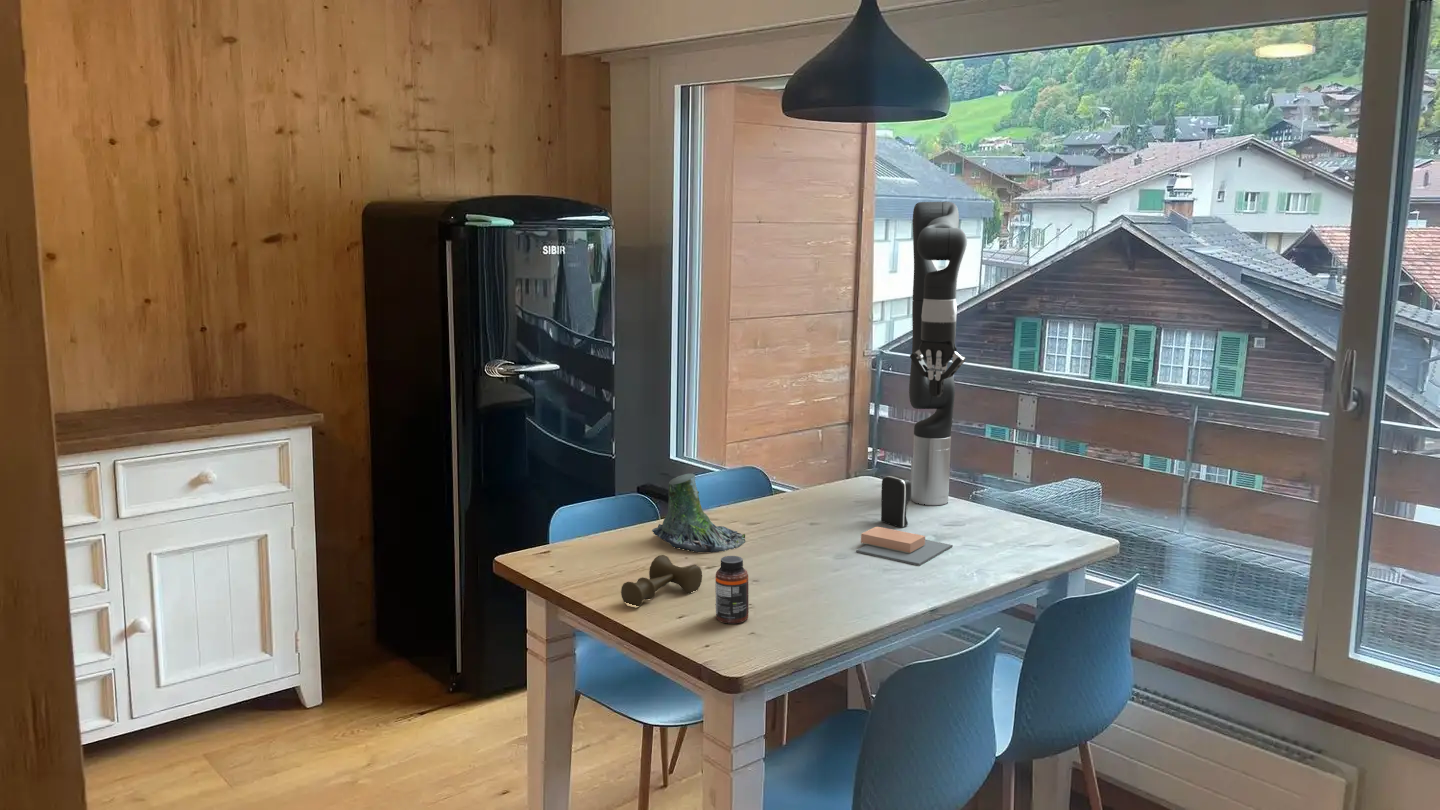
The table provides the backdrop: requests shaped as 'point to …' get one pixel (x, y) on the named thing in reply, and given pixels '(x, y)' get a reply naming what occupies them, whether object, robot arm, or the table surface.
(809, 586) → the table surface
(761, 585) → the table surface
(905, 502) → the battery charger
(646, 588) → the kendama
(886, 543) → the tile
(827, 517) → the table surface
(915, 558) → the mat
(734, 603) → the supplement bottle
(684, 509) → the tree stump
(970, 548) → the table surface
